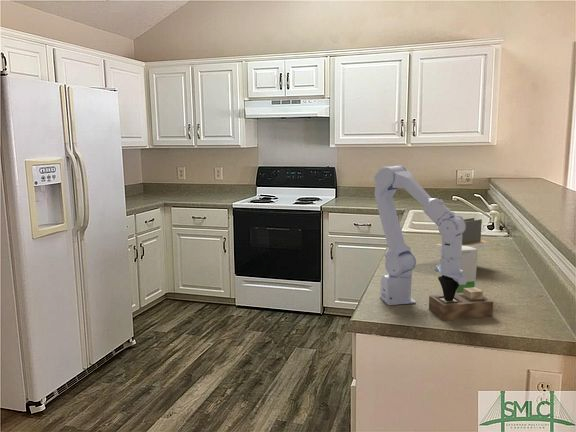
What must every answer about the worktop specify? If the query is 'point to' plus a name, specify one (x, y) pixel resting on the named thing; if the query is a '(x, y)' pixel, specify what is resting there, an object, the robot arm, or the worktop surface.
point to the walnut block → (460, 307)
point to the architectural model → (471, 234)
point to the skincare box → (468, 267)
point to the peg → (473, 293)
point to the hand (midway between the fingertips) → (448, 300)
